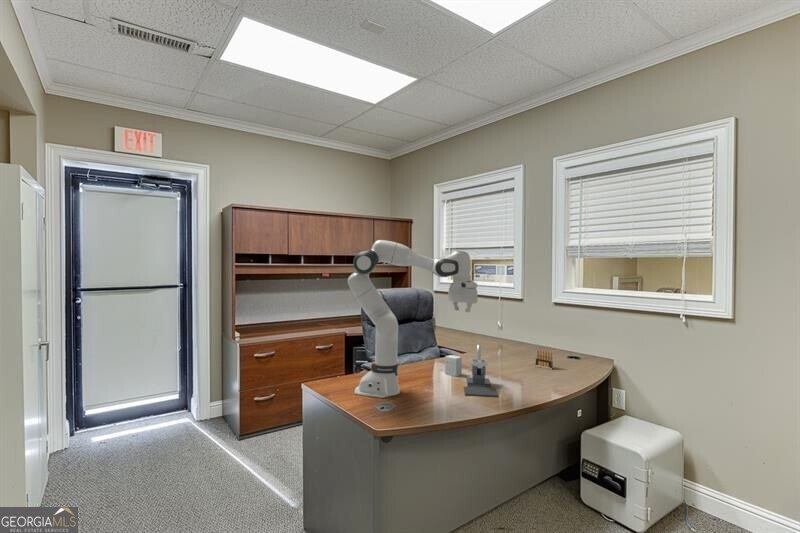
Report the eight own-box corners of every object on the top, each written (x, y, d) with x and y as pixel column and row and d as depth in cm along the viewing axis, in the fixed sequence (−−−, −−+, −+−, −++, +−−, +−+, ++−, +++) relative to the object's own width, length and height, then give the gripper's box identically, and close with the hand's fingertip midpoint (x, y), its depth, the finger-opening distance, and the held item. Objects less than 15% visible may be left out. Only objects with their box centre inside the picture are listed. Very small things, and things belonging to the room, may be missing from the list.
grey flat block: (471, 367, 207) (471, 362, 207) (469, 361, 221) (469, 356, 221) (489, 368, 206) (489, 362, 206) (486, 362, 220) (486, 356, 220)
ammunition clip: (552, 369, 251) (553, 350, 250) (551, 369, 249) (551, 350, 249) (536, 365, 258) (537, 347, 258) (535, 366, 257) (535, 347, 257)
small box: (461, 375, 234) (462, 357, 234) (456, 377, 230) (456, 358, 230) (450, 372, 239) (450, 354, 239) (444, 374, 235) (445, 356, 235)
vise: (467, 386, 212) (468, 346, 212) (466, 381, 222) (467, 342, 222) (490, 387, 210) (491, 347, 210) (488, 382, 220) (489, 343, 220)
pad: (464, 395, 197) (464, 393, 197) (463, 388, 209) (463, 386, 209) (498, 397, 195) (498, 395, 195) (495, 389, 207) (495, 388, 207)
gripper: (445, 283, 209) (445, 309, 209) (468, 284, 190) (469, 313, 191) (455, 282, 212) (455, 308, 212) (479, 284, 193) (479, 313, 193)
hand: (462, 311), depth 201 cm, fingers open, 8 cm apart
